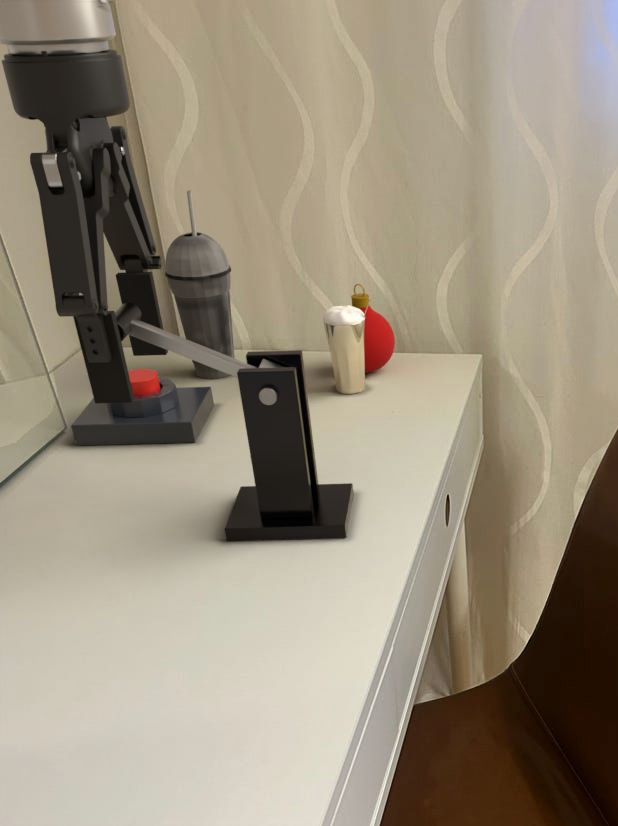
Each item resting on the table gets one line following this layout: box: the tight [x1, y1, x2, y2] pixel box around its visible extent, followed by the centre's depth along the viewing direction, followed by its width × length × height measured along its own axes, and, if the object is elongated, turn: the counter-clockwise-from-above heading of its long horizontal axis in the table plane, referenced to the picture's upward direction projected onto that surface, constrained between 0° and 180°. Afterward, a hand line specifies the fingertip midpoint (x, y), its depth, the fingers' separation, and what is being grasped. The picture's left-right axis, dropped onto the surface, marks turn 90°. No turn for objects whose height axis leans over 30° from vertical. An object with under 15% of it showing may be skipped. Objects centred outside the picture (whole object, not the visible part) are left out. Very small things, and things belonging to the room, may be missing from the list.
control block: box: [70, 376, 215, 447], centre depth 101 cm, size 12×10×4 cm
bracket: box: [223, 349, 355, 542], centre depth 80 cm, size 10×8×14 cm
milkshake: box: [322, 298, 371, 395], centre depth 107 cm, size 4×5×10 cm
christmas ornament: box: [350, 283, 396, 374], centre depth 112 cm, size 7×7×10 cm
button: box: [128, 368, 161, 397], centre depth 99 cm, size 4×4×2 cm
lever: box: [114, 303, 283, 379], centre depth 76 cm, size 14×5×2 cm, turn 92°
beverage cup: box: [164, 190, 235, 380], centre depth 109 cm, size 7×7×20 cm
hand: (133, 376), depth 77 cm, fingers open, 10 cm apart
